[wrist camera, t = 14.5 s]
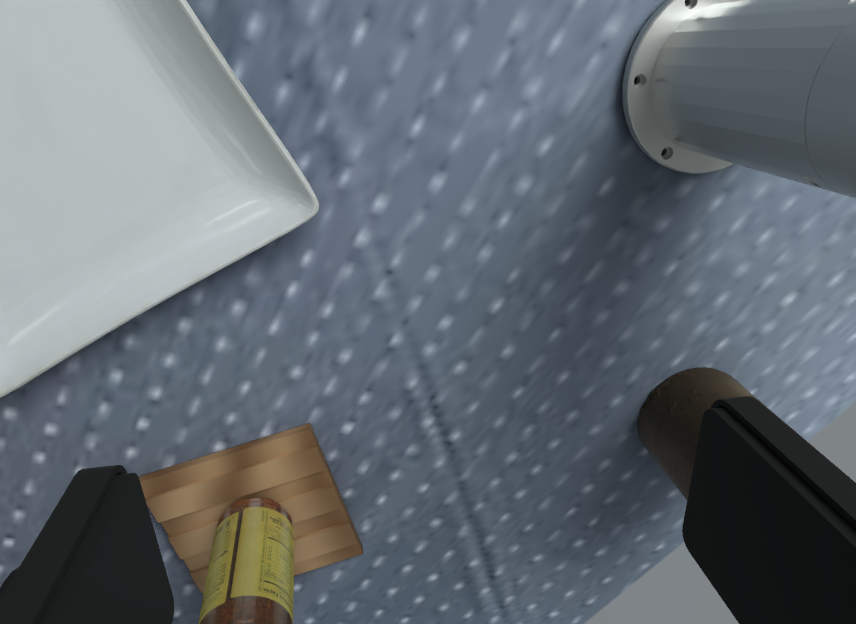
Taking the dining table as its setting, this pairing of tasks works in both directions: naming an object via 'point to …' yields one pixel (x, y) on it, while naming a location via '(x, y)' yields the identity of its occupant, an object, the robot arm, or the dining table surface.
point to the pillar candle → (682, 418)
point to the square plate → (122, 171)
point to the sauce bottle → (251, 566)
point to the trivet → (254, 478)
